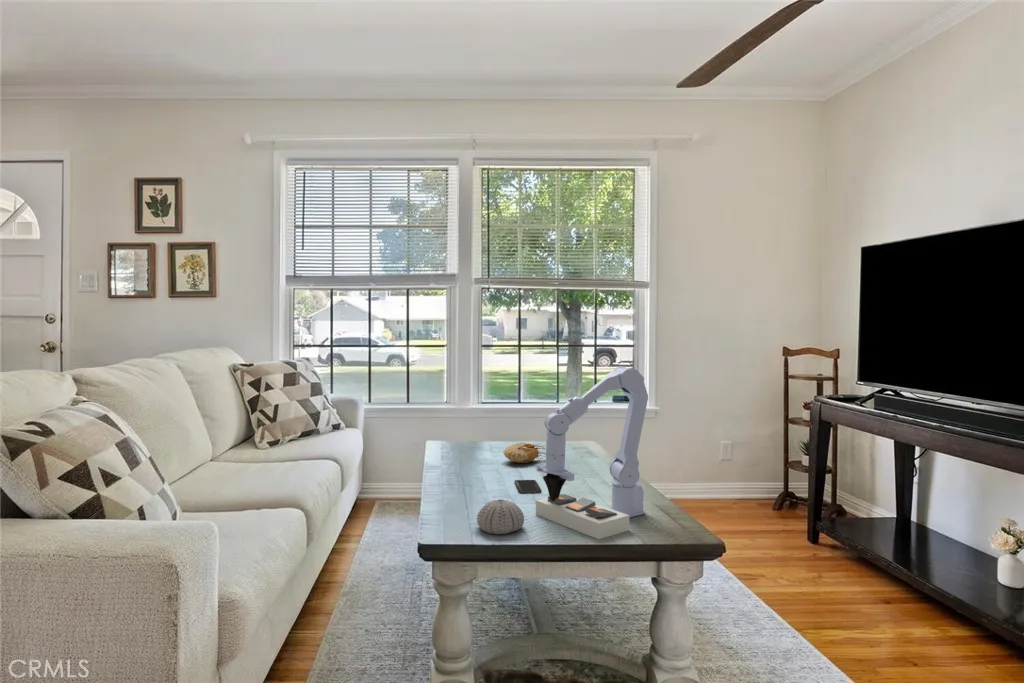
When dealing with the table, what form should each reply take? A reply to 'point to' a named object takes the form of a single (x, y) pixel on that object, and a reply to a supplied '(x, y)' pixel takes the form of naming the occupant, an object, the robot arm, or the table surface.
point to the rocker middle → (581, 505)
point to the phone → (527, 486)
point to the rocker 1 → (563, 499)
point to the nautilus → (522, 452)
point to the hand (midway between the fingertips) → (554, 500)
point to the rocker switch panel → (583, 519)
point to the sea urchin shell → (500, 517)
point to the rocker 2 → (600, 512)
